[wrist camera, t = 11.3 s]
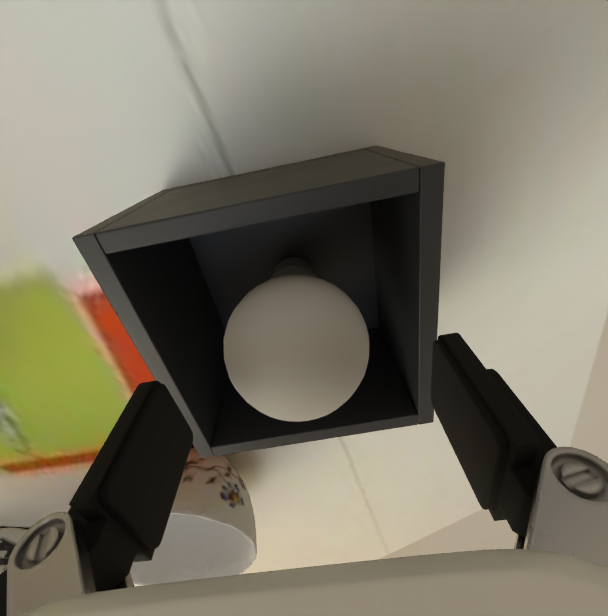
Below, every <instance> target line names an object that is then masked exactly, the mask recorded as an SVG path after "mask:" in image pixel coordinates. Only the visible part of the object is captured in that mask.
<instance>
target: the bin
mask: <svg viewBox="0 0 608 616" xmlns="http://www.w3.org/2000/svg"><path fill="white" fill-rule="evenodd" d="M444 168H445V163H444V162H441V161H437V160H433V159H429V158H425V157H421V156H417V155H413V154H409V153H405V152H400V151H396V150H392V149H388V148H384V147H379V146H372V147H368V148H363V149H358V150H353V151H348V152H344V153H339V154H334V155H329V156H324V157H320V158H315V159H310V160H305V161H301V162H296V163H291V164H286V165H281V166H277V167H272V168H267V169H262V170H257V171H253V172H248V173H243V174H238V175H233V176H229V177H224V178H219V179H214V180H210V181H205V182H200V183H195V184H190V185H186V186H181V187H176V188H171V189H166V190H162V191H160V192H159V193H156V194H154V195H152V196H151V197H149V198H147V199H145V200H143V201H141V202H139V203H137V204H135V205H133V206H131V207H130V208H128V209H126V210H124V211H122V212H120V213H118V214H116V215H114V216H112V217H111V218H109V219H107V220H105V221H103V222H101V223H99V224H97V225H95V226H93V227H91V228H90V229H88V230H86V231H84V232H82V233H80V234H78V235H76V236H74V237H73V238H72V239H73V241H74V242H75V244H76V246H77V248H78V249H79V251H80V253H81V254H82V256H83V258H84V260H85V261H86V263H87V265H88V266H89V268H90V270H91V271H92V273H93V275H94V277H95V278H96V280H97V282H98V283H99V285H100V287H101V288H102V290H103V292H104V294H105V295H106V297H107V299H108V300H109V302H110V304H111V306H112V307H113V309H114V311H115V312H116V314H117V316H118V317H119V319H120V321H121V323H122V324H123V326H124V328H125V329H126V331H127V333H128V334H129V336H130V338H131V340H132V341H133V343H134V345H135V346H136V348H137V350H138V352H139V353H140V355H141V357H142V358H143V360H144V362H145V363H146V365H147V367H148V369H149V370H150V372H151V374H152V375H153V377H154V379H155V380H156V381H159V382H160V383H161V384H164V385H165V386H166V387H167V389H168V390H169V392H170V394H171V395H172V397H173V399H174V401H175V402H176V404H177V406H178V407H179V409H180V411H181V413H182V414H183V416H184V418H185V419H186V421H187V423H188V425H189V426H190V428H191V430H192V432H193V442H192V444H193V445H194V447H195V449H196V450H197V452H198V454H199V455H200V457H201V458H208V457H214V456H220V455H226V454H233V453H239V452H245V451H252V450H258V449H265V448H271V447H277V446H284V445H290V444H296V443H303V442H309V441H316V440H322V439H328V438H335V437H341V436H347V435H354V434H360V433H367V432H373V431H379V430H386V429H392V428H398V427H405V426H411V425H417V424H425V423H431V422H433V416H434V408H433V405H432V402H431V376H432V353H433V342H434V341H436V340H437V326H438V303H439V281H440V258H441V236H442V213H443V191H444ZM289 257H298V258H301V259H303V260H305V261H306V262H308V263H309V265H310V266H311V268H312V270H313V272H314V274H315V275H316V276H317V277H318V278H320V279H323V280H325V281H327V282H329V283H331V284H334V285H335V286H337V287H338V288H339V289H340V290H342V291H343V292H344V293H345V294H346V295H347V296H348V297H349V298H350V299H351V300H352V301H353V302H354V304H355V305H356V306H357V307H358V309H359V311H360V313H361V315H362V317H363V319H364V321H365V324H366V326H367V331H368V335H369V359H368V364H367V368H366V372H365V375H364V377H363V379H362V381H361V383H360V384H359V386H358V388H357V389H356V391H355V392H354V393H353V395H352V396H351V397H350V398H349V399H348V400H347V401H346V402H345V403H344V404H343V405H341V406H340V407H339V408H338V409H336V410H335V411H333V412H331V413H330V414H328V415H326V416H323V417H320V418H318V419H313V420H309V421H299V422H295V421H284V420H278V419H275V418H272V417H269V416H267V415H265V414H263V413H261V412H260V411H258V410H257V409H255V408H254V407H253V406H251V405H250V404H249V403H247V402H246V401H245V400H244V398H243V397H242V396H241V395H240V394H239V393H238V391H237V390H236V389H235V387H234V385H233V384H232V382H231V380H230V378H229V375H228V372H227V368H226V364H225V361H224V336H225V331H226V327H227V324H228V320H229V318H230V317H231V315H232V313H233V311H234V309H235V308H236V307H237V305H238V304H239V303H240V302H241V301H242V299H243V298H244V297H245V296H246V295H247V293H249V292H250V291H251V290H253V289H254V288H255V287H256V286H258V285H260V284H262V283H264V282H266V281H268V280H270V278H271V277H272V276H273V273H274V270H275V268H276V266H277V265H278V263H279V262H281V261H282V260H284V259H286V258H289Z"/></svg>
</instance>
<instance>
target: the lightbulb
mask: <svg viewBox="0 0 608 616" xmlns="http://www.w3.org/2000/svg"><path fill="white" fill-rule="evenodd" d="M368 359H369V335H368V331H367V326H366V324H365V321H364V319H363V317H362V315H361V313H360V311H359V309H358V307H357V306H356V305H355V304H354V302H353V301H352V300H351V299H350V298H349V297H348V296H347V295H346V294H345V293H344V292H343V291H342V290H340V289H339V288H338V287H337V286H335V285H334V284H331V283H329V282H327V281H325V280H323V279H320V278H318V277H317V276H316V275H315V274H314V272H313V270H312V268H311V266H310V265H309V263H308V262H306V261H305V260H303V259H301V258H298V257H289V258H286V259H284V260H282V261H281V262H279V263H278V265H277V266H276V268H275V270H274V273H273V276H272V277H271V278H270V280H268V281H266V282H264V283H262V284H260V285H258V286H256V287H255V288H254V289H253V290H251V291H250V292H249V293H247V295H246V296H245V297H244V298H243V299H242V301H241V302H240V303H239V304H238V305H237V307H236V308H235V309H234V311H233V313H232V315H231V317H230V318H229V320H228V324H227V327H226V331H225V336H224V361H225V364H226V368H227V372H228V375H229V378H230V380H231V382H232V384H233V385H234V387H235V389H236V390H237V391H238V393H239V394H240V395H241V396H242V397H243V398H244V400H245V401H246V402H247V403H249V404H250V405H251V406H253V407H254V408H255V409H257V410H258V411H260V412H261V413H263V414H265V415H267V416H269V417H272V418H275V419H278V420H284V421H295V422H299V421H309V420H313V419H318V418H320V417H323V416H326V415H328V414H330V413H331V412H333V411H335V410H336V409H338V408H339V407H340V406H341V405H343V404H344V403H345V402H346V401H347V400H348V399H349V398H350V397H351V396H352V395H353V393H354V392H355V391H356V389H357V388H358V386H359V384H360V383H361V381H362V379H363V377H364V375H365V372H366V368H367V364H368Z"/></svg>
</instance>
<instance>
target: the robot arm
mask: <svg viewBox="0 0 608 616" xmlns="http://www.w3.org/2000/svg"><path fill="white" fill-rule="evenodd" d="M431 402H432V405H433V408H434V410H435V412H436V414H437V416H438V418H439V420H440V422H441V424H442V426H443V429H444V431H445V433H446V435H447V437H448V439H449V441H450V443H451V445H452V447H453V449H454V451H455V454H456V456H457V458H458V460H459V462H460V464H461V466H462V468H463V470H464V472H465V474H466V477H467V479H468V481H469V483H470V485H471V487H472V489H473V491H474V493H475V495H476V497H477V499H478V502H479V503H480V505H481V507H482V508H483V509H485V510H486V509H489V511H490V513H491V515H492V517H493V519H494V521H497V520H507V521H508V523H509V525H510V527H511V529H512V531H514V532H515V533H517V536H516V541H515V546H514V549H499V550H498V549H497V550H477V551H465V552H453V553H441V554H429V555H419V556H410V557H400V558H391V559H380V560H371V561H361V562H351V563H342V564H332V565H323V566H314V567H305V568H295V569H286V570H277V571H268V572H259V573H250V574H241V575H232V576H223V577H214V578H205V579H197V580H188V581H179V582H171V583H162V584H153V585H145V586H137V587H134V584H133V580H132V577H131V573H130V570H131V567H132V564H133V561H134V562H142V561H151V560H152V557H153V554H154V551H155V548H158V547H159V545H160V544H161V541H162V538H163V535H164V532H165V529H166V526H167V522H168V519H169V516H170V513H171V510H172V506H173V503H174V500H175V497H176V494H177V490H178V487H179V484H180V481H181V478H182V474H183V471H184V468H185V465H186V462H187V458H188V455H189V452H190V449H191V446H192V442H193V432H192V430H191V428H190V426H189V425H188V423H187V421H186V419H185V418H184V416H183V414H182V413H181V411H180V409H179V407H178V406H177V404H176V402H175V401H174V399H173V397H172V395H171V394H170V392H169V390H168V389H167V387H166V386H165V385H164V384H161V383H160V382H159V381H151V382H145V383H141V384H139V385H138V386H137V388H136V390H135V392H134V393H133V395H132V397H131V398H130V400H129V402H128V404H127V405H126V407H125V409H124V410H123V412H122V414H121V416H120V417H119V419H118V421H117V422H116V424H115V426H114V428H113V429H112V431H111V433H110V435H109V436H108V438H107V440H106V441H105V443H104V445H103V447H102V448H101V450H100V452H99V453H98V455H97V457H96V459H95V460H94V462H93V464H92V465H91V467H90V469H89V471H88V472H87V474H86V476H85V477H84V479H83V481H82V483H81V484H80V486H79V488H78V490H77V491H76V493H75V495H74V496H73V498H72V500H71V502H70V503H69V505H70V506H71V508H70V510H69V512H68V513H65V512H57V513H54V514H51V515H48V516H47V517H45V518H43V519H41V520H40V521H38V522H37V523H36V524H35V525H33V526H32V527H31V528H30V529H29V530H28V531H27V532H26V533H25V534H24V535H23V536H22V537H21V539H20V540H19V541H18V543H17V544H16V546H15V547H14V549H13V551H12V553H11V555H10V557H9V561H8V566H7V569H6V570H5V571H4V572H2V573H1V574H0V616H608V464H607V463H606V462H604V461H603V460H601V459H600V458H598V457H597V456H595V455H593V454H591V453H588V452H586V451H584V450H580V449H576V448H573V447H558V448H557V447H556V445H555V444H554V443H553V442H552V440H551V439H550V438H549V437H548V435H547V434H546V433H545V431H544V430H543V429H542V428H541V426H540V425H539V424H538V423H537V421H536V420H535V419H534V418H533V416H532V415H531V414H530V413H529V411H528V410H527V409H526V408H525V406H524V405H523V404H522V403H521V401H520V400H519V399H518V398H517V396H516V395H515V394H514V393H513V391H512V390H511V389H510V387H509V386H508V385H507V384H506V382H505V381H504V380H503V379H502V377H501V376H500V375H499V374H498V373H497V372H496V371H495V370H493V369H487V370H486V368H485V367H484V366H483V364H482V363H481V362H480V360H479V359H478V358H477V356H476V355H475V354H474V353H473V351H472V350H471V349H470V347H469V346H468V345H467V343H466V342H465V341H464V339H463V338H462V337H461V335H460V334H459V333H452V334H446V335H440V336H439V337H438V340H436V341H434V342H433V353H432V376H431Z"/></svg>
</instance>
